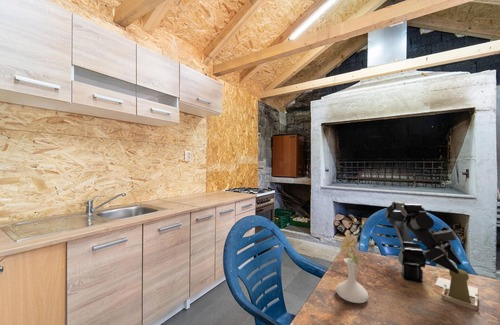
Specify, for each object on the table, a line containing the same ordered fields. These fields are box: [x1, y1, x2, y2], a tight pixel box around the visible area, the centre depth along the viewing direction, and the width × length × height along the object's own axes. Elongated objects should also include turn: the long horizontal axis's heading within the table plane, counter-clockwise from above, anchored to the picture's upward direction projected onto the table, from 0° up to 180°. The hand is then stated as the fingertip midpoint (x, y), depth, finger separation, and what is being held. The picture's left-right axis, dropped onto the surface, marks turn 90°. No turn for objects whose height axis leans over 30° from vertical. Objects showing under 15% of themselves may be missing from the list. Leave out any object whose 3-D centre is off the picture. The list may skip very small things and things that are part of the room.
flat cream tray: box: [440, 285, 479, 311], centre depth 79 cm, size 9×9×2 cm
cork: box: [447, 268, 472, 304], centre depth 79 cm, size 6×6×11 cm
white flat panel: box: [434, 276, 479, 299], centre depth 87 cm, size 9×12×1 cm
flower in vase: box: [335, 233, 369, 304], centre depth 81 cm, size 13×11×25 cm
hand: (459, 268), depth 79 cm, fingers open, 9 cm apart
